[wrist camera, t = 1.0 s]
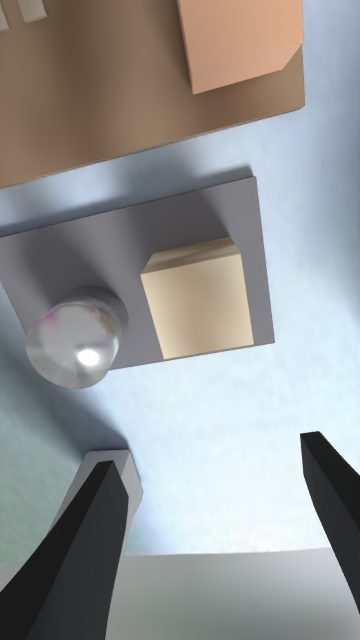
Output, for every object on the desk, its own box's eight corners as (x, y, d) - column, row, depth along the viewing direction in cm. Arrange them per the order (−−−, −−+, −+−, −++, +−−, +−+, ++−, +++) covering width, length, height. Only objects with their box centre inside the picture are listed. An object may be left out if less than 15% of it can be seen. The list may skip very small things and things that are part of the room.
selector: (273, -56, 12) (295, -127, 9) (282, 69, 14) (303, 41, 11) (172, -22, 12) (166, -79, 10) (192, 94, 14) (191, 74, 11)
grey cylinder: (117, 278, 19) (94, 306, 15) (137, 341, 20) (121, 382, 16) (50, 292, 19) (11, 322, 15) (75, 352, 21) (45, 394, 17)
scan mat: (253, 176, 17) (255, 176, 16) (272, 338, 20) (274, 342, 20) (-12, 240, 19) (-18, 242, 18) (51, 375, 23) (48, 380, 22)
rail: (286, -91, 12) (295, -117, 11) (298, 109, 15) (306, 104, 14) (-110, 49, 15) (-134, 39, 14) (-39, 198, 18) (-55, 200, 17)
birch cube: (230, 236, 17) (240, 253, 13) (241, 309, 19) (253, 344, 15) (153, 253, 18) (140, 274, 14) (171, 322, 20) (164, 359, 16)
